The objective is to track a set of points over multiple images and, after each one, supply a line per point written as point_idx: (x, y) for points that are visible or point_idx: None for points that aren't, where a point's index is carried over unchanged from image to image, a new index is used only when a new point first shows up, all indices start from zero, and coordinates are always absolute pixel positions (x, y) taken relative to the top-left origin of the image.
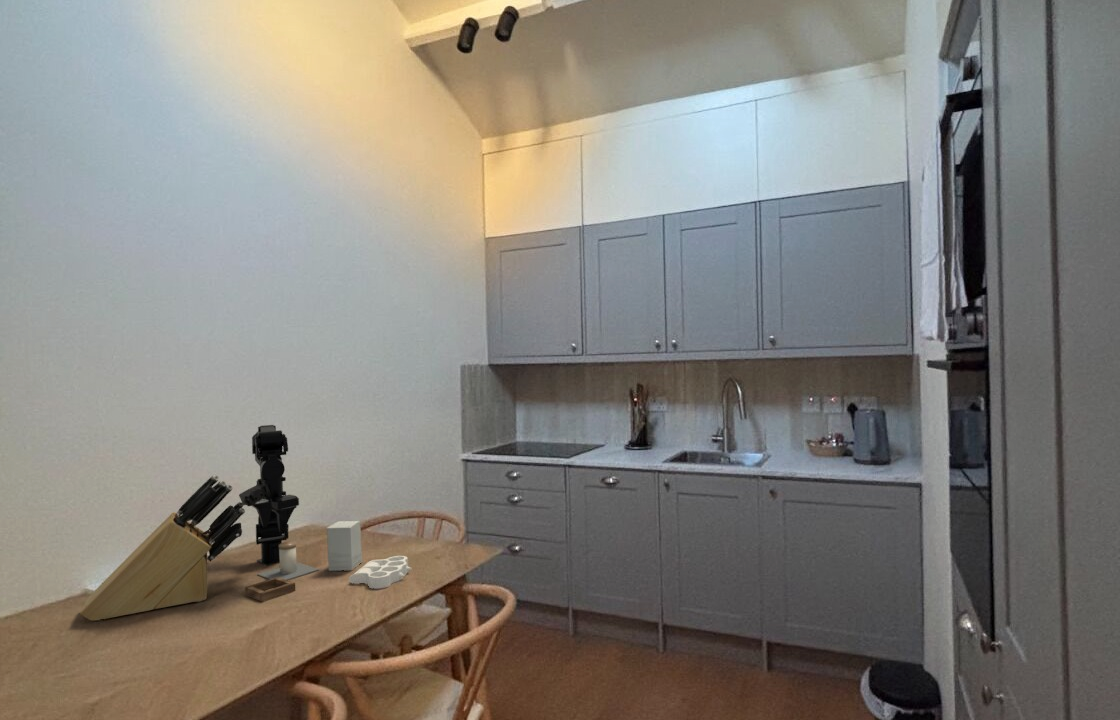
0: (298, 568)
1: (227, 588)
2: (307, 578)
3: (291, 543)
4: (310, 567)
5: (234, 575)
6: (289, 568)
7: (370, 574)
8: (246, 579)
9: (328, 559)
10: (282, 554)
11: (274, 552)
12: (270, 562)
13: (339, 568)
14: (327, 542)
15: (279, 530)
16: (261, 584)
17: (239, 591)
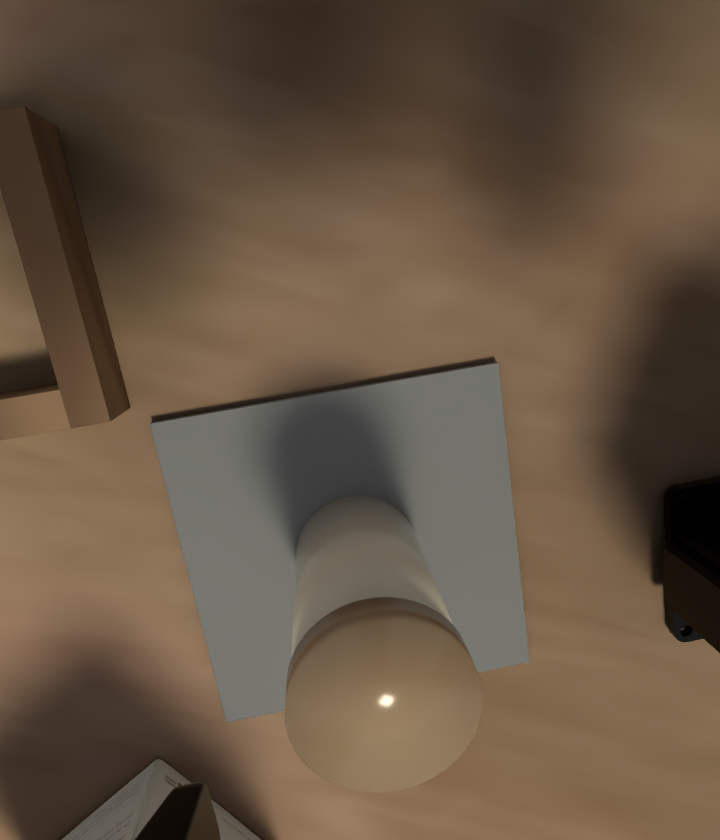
0: None
1: (352, 66)
2: (102, 604)
3: (359, 744)
4: None
5: (648, 224)
6: (296, 563)
7: None
8: (460, 263)
9: (132, 835)
10: (328, 585)
11: (709, 586)
12: (676, 520)
13: (89, 822)
14: None
15: (188, 796)
16: (23, 254)
17: (188, 117)
